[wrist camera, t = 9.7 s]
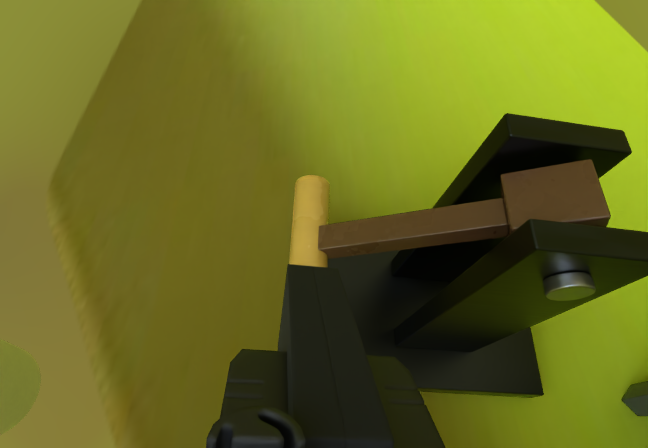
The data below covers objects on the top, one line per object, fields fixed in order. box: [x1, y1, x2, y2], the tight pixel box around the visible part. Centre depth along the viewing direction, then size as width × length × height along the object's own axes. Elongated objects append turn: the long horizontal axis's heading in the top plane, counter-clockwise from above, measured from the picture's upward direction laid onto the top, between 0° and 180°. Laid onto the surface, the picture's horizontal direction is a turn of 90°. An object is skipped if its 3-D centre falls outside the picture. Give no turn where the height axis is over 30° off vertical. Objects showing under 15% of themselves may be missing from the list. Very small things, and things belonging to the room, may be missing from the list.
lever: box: [289, 159, 611, 267], centre depth 16 cm, size 11×6×2 cm
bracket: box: [327, 113, 648, 398], centre depth 19 cm, size 12×9×14 cm
